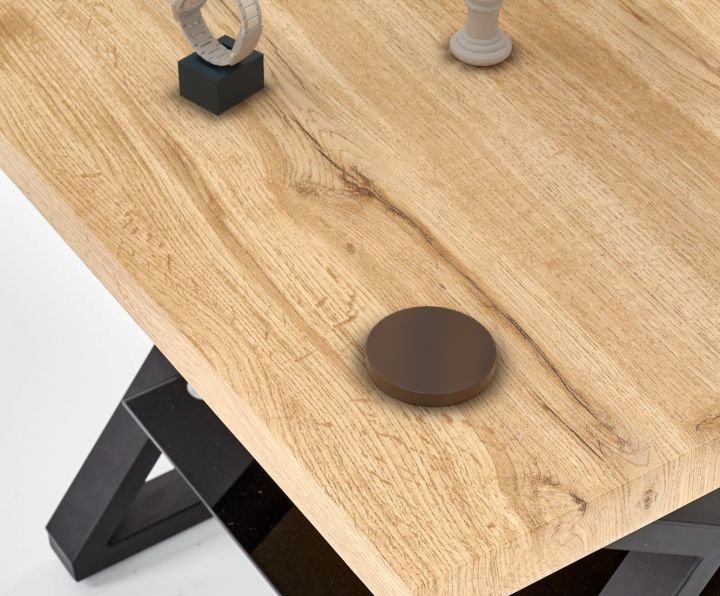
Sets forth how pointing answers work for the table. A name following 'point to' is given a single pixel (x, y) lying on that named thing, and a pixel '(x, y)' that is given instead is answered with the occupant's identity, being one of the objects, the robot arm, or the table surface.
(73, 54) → the table surface
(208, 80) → the watch
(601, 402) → the table surface
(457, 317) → the walnut chip
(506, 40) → the chess piece
